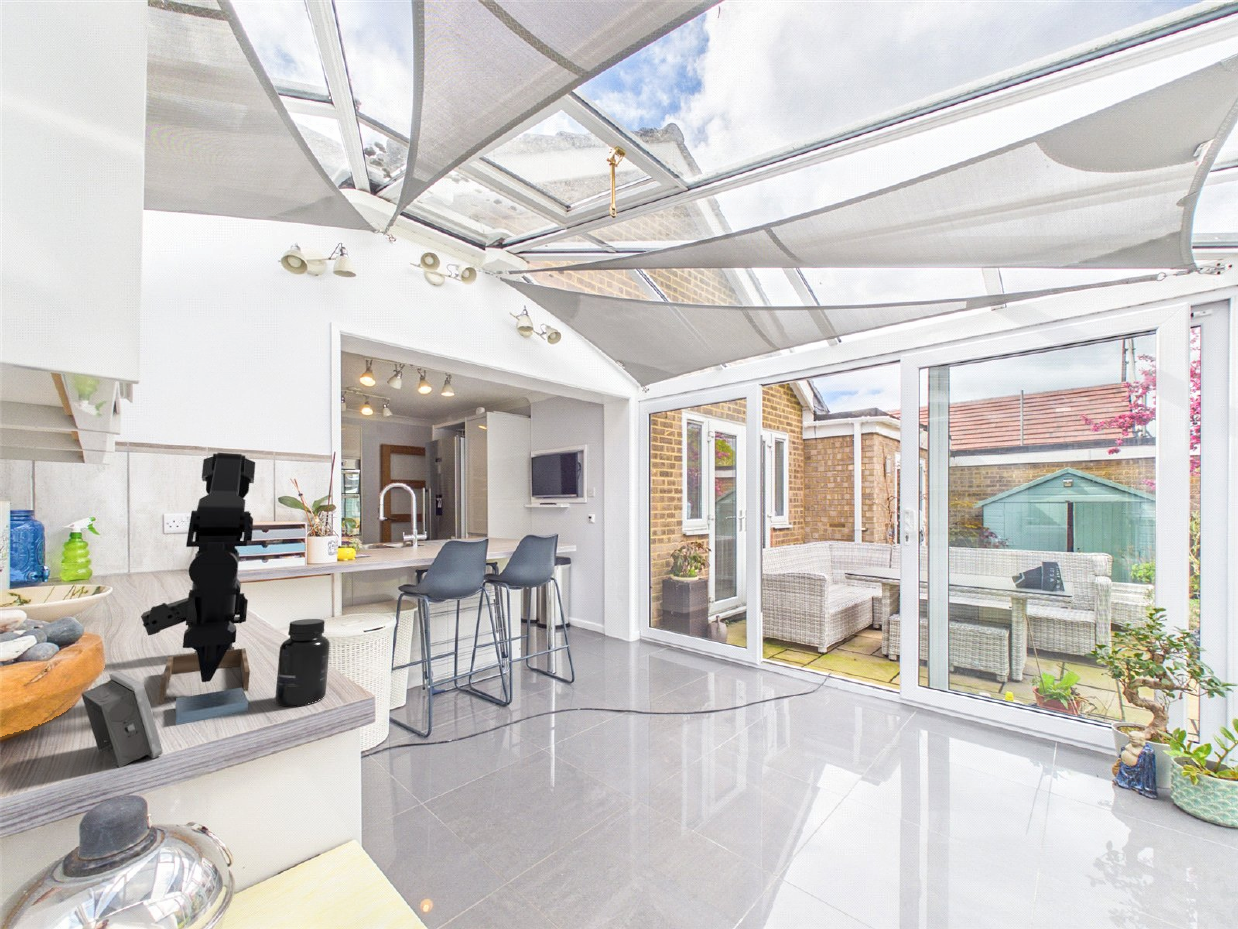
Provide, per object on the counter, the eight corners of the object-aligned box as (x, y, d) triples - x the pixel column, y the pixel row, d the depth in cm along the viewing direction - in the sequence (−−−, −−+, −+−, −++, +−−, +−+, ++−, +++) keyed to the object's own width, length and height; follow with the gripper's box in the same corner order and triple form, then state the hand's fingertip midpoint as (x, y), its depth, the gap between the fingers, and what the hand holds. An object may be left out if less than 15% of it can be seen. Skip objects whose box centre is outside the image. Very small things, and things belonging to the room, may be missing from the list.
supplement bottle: (270, 710, 78) (276, 626, 79) (280, 695, 84) (285, 618, 85) (323, 704, 80) (328, 624, 82) (328, 691, 87) (333, 616, 88)
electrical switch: (164, 757, 62) (162, 678, 63) (104, 780, 58) (103, 695, 58) (136, 739, 68) (135, 666, 68) (80, 758, 63) (78, 680, 63)
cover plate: (174, 712, 78) (176, 698, 78) (241, 700, 83) (242, 687, 83) (175, 729, 72) (177, 713, 72) (246, 715, 77) (248, 701, 77)
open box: (167, 674, 94) (169, 656, 95) (244, 664, 101) (245, 648, 101) (157, 704, 80) (159, 683, 80) (248, 690, 86) (249, 671, 87)
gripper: (155, 578, 88) (145, 675, 87) (141, 592, 73) (129, 709, 72) (237, 575, 95) (229, 664, 93) (240, 587, 80) (231, 694, 78)
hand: (206, 681), depth 84 cm, fingers closed
